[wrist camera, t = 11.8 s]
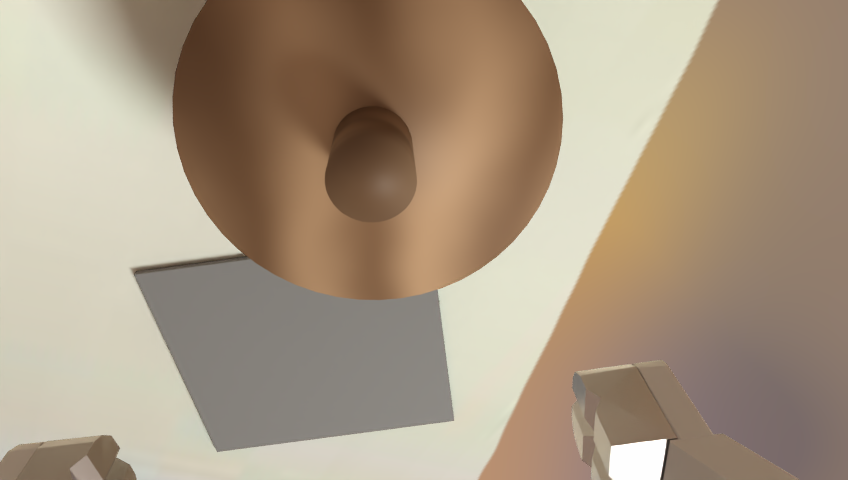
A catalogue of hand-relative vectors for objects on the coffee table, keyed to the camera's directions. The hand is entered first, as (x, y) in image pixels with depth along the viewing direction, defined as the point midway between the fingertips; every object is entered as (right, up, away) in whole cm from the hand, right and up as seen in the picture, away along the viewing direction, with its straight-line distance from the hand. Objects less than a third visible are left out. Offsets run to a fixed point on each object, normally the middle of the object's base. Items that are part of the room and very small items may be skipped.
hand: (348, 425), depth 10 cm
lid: (-1, +8, +15) cm, 17 cm away
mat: (-7, -5, +32) cm, 33 cm away
